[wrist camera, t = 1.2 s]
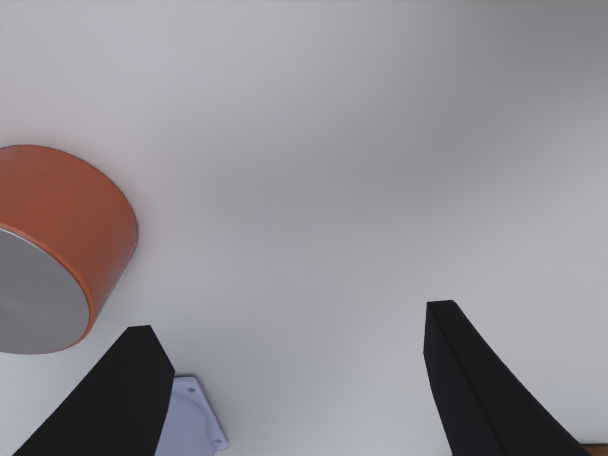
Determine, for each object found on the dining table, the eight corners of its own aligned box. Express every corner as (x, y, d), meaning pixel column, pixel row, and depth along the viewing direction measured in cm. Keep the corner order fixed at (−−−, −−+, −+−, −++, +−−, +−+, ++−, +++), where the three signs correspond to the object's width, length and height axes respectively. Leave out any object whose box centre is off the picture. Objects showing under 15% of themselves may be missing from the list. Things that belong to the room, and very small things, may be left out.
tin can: (160, 268, 21) (123, 350, 17) (26, 281, 21) (-41, 362, 17) (98, 134, 16) (28, 200, 12) (-67, 154, 17) (-187, 224, 13)
